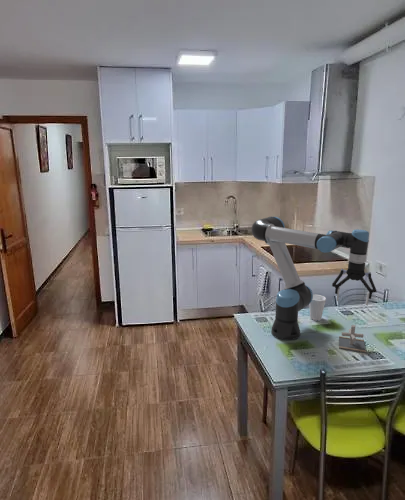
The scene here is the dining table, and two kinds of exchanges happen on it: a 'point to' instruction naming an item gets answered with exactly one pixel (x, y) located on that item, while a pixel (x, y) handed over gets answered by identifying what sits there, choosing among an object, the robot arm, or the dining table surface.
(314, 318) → the foam cup
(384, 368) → the dining table surface
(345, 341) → the mat
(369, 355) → the dining table surface
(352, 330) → the pipe connector
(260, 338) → the dining table surface
